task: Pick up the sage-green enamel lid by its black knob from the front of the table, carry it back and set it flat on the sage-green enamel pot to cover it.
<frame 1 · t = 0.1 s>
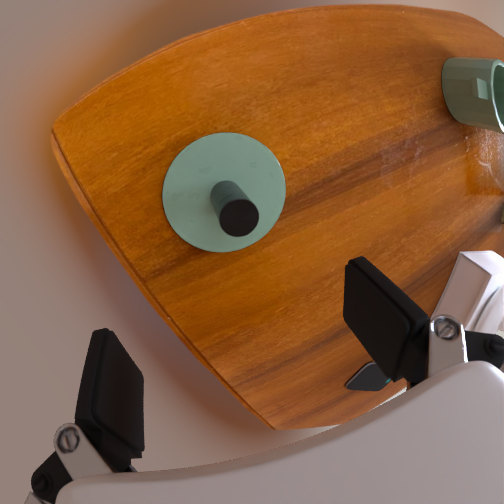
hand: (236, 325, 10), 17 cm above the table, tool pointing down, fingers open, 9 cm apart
pot: (460, 90, 24), on the table
pot lid: (225, 194, 24), point 1 cm above the table
white box: (461, 286, 45), on the table
smartphone: (373, 376, 49), on the table
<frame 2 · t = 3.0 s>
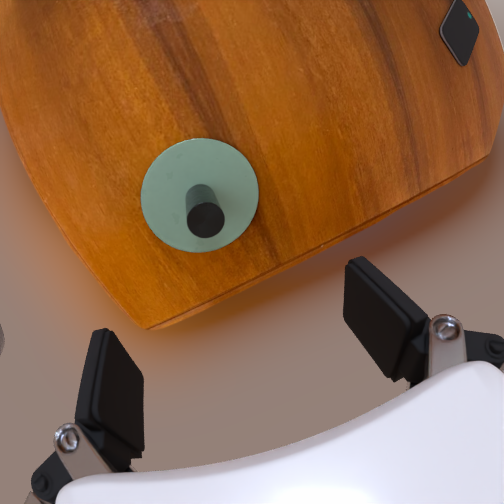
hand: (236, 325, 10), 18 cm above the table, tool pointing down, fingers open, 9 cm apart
pot lid: (199, 197, 25), point 1 cm above the table
smartphone: (459, 29, 21), on the table
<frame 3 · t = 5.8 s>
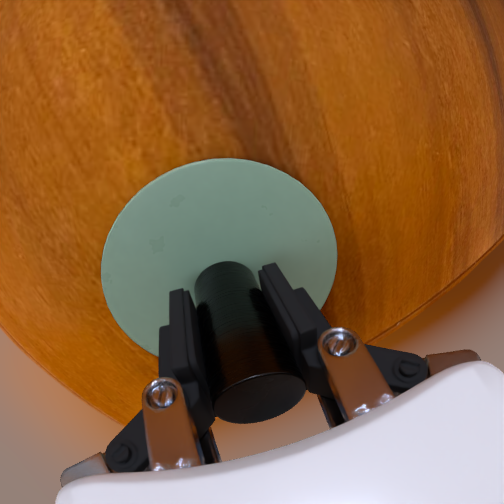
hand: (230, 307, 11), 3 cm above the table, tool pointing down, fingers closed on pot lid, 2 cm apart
pot lid: (223, 282, 13), point 1 cm above the table, touching gripper
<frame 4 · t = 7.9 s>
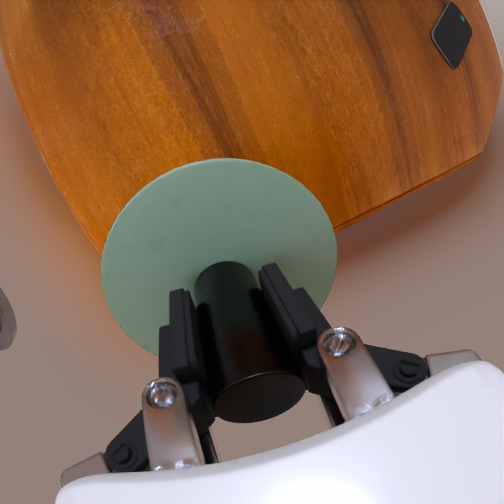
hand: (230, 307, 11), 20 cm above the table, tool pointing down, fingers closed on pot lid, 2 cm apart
pot lid: (223, 281, 13), point 18 cm above the table, touching gripper
smartphone: (451, 32, 23), on the table
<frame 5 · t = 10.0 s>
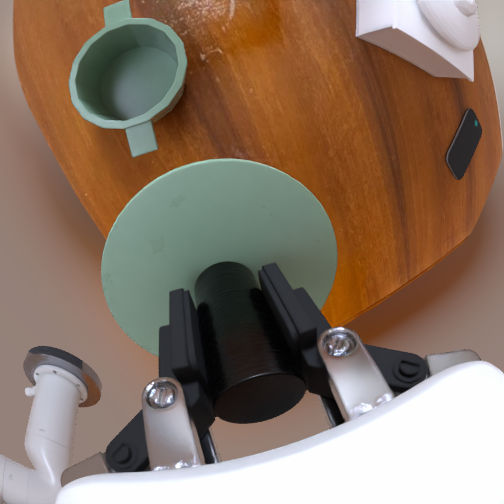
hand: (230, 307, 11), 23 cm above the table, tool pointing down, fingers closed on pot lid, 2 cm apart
pot: (139, 83, 24), on the table
pot lid: (223, 282, 13), point 21 cm above the table, touching gripper
white box: (399, 15, 24), on the table
smartphone: (463, 142, 37), on the table
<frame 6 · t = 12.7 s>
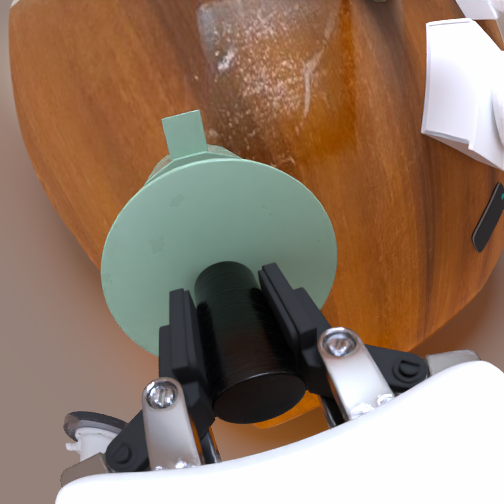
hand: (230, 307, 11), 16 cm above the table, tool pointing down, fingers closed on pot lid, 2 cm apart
pot: (199, 198, 25), on the table
pot lid: (223, 282, 13), point 15 cm above the table, touching gripper
white box: (458, 97, 26), on the table
smartphone: (488, 216, 39), on the table
when the fingers open (10 cm above the table, at t = 14.4 s): pot lid stays where it is, resting on pot.
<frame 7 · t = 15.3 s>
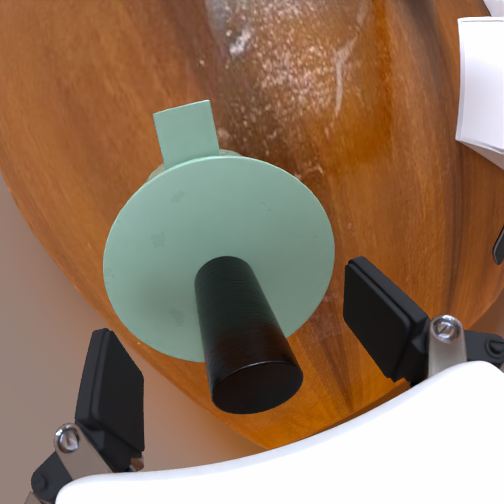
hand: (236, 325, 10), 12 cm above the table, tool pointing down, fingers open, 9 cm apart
pot: (206, 216, 20), on the table
pot lid: (223, 276, 13), point 8 cm above the table, touching pot
white box: (488, 101, 21), on the table
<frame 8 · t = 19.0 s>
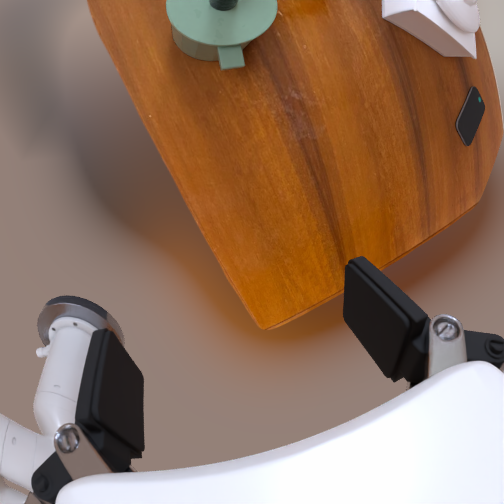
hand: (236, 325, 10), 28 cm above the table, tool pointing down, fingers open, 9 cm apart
pot: (212, 27, 25), on the table
pot lid: (222, 2, 18), point 8 cm above the table, touching pot
white box: (414, 5, 26), on the table
smartphone: (469, 114, 39), on the table
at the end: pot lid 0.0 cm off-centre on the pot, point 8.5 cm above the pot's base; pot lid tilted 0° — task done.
